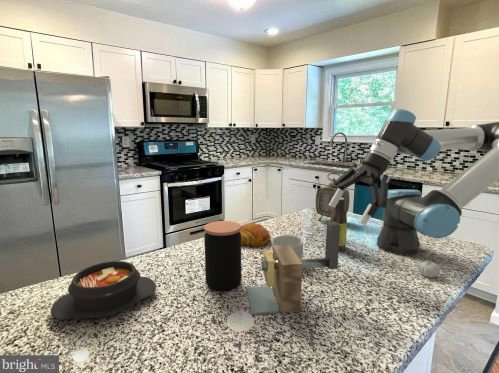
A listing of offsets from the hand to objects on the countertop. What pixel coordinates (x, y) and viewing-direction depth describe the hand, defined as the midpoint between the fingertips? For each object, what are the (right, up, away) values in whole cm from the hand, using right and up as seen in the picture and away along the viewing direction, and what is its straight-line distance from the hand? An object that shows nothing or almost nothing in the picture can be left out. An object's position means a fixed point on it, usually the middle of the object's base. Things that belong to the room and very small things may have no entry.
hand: (345, 214), depth 94 cm
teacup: (-18, -17, +9) cm, 26 cm away
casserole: (-69, -22, -16) cm, 74 cm away
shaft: (-18, -13, -16) cm, 27 cm away
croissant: (-30, -14, +27) cm, 42 cm away
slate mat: (-28, -22, -16) cm, 39 cm away
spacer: (-26, -16, -17) cm, 35 cm away
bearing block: (-22, -22, -15) cm, 34 cm away
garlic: (+25, -19, -2) cm, 32 cm away
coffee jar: (-39, -20, -7) cm, 45 cm away
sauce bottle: (+3, -15, +20) cm, 25 cm away
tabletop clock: (+10, -9, +52) cm, 54 cm away
